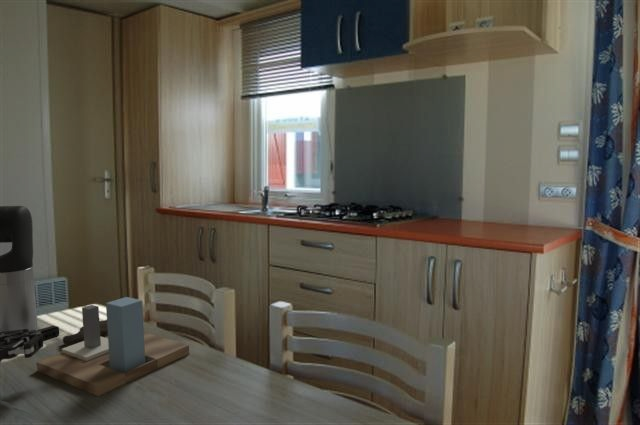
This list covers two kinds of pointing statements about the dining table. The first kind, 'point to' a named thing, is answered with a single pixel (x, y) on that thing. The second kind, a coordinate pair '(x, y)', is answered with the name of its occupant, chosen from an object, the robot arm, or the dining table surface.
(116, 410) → the dining table surface
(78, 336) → the stone
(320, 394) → the dining table surface
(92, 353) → the lid
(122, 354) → the block
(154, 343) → the board
